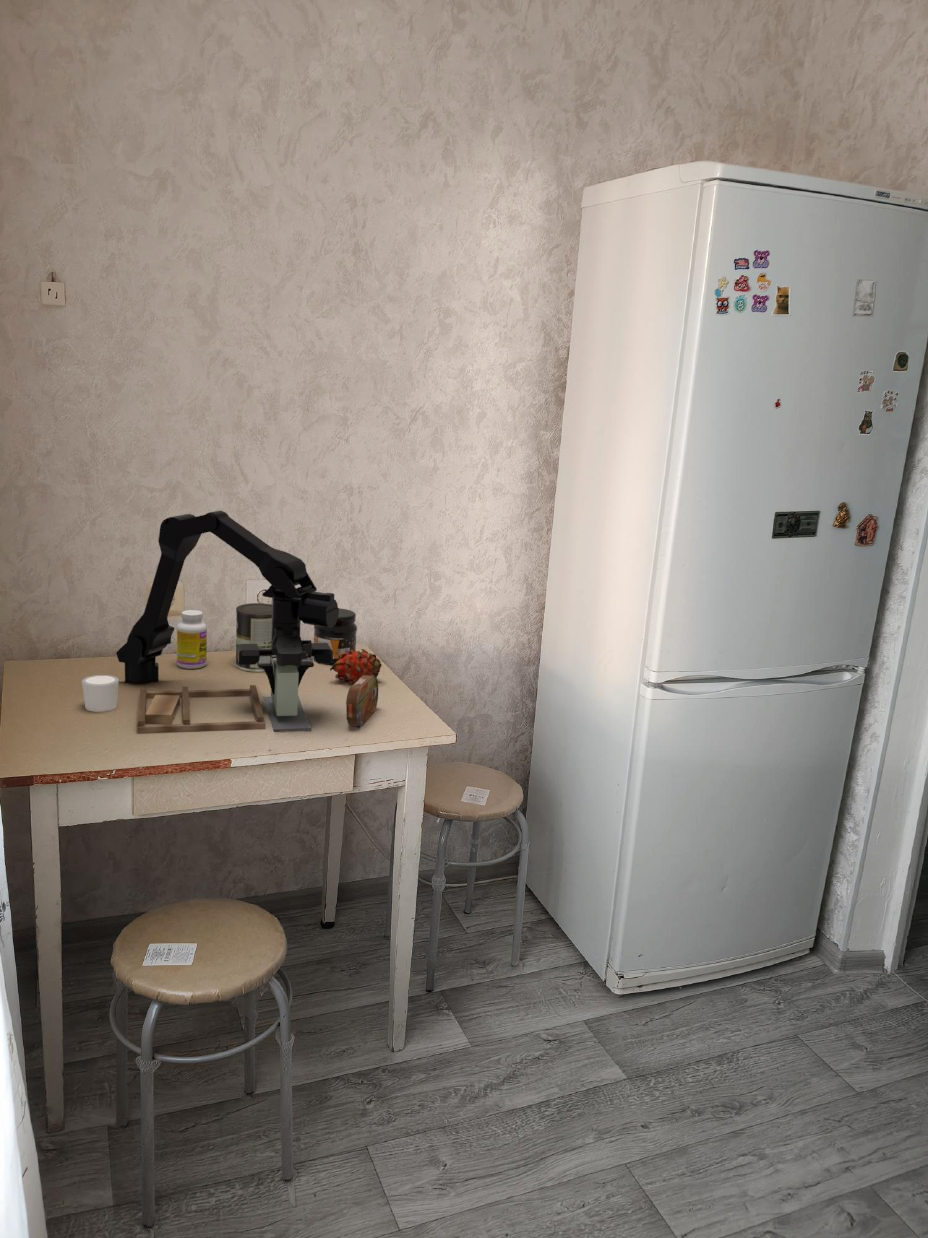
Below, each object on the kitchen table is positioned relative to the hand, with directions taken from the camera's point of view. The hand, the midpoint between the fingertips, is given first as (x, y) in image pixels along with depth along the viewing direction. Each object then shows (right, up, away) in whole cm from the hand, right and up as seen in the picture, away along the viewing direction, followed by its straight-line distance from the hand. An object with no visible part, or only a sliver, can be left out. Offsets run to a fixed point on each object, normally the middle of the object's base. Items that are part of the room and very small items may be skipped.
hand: (284, 693), depth 194 cm
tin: (+16, -6, +2) cm, 17 cm away
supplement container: (+5, +5, +40) cm, 41 cm away
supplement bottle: (-27, +4, +27) cm, 38 cm away
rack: (-16, -5, -5) cm, 17 cm away
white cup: (-35, -4, -6) cm, 36 cm away
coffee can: (-12, +4, +31) cm, 33 cm away
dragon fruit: (+12, 0, +24) cm, 27 cm away
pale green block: (0, -2, +1) cm, 3 cm away
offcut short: (-23, -3, -7) cm, 24 cm away
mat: (0, -4, +1) cm, 4 cm away
